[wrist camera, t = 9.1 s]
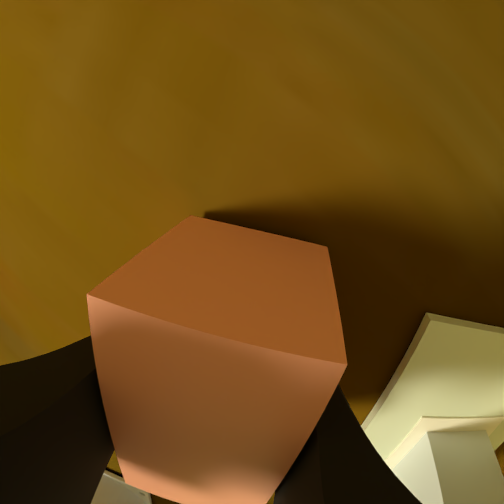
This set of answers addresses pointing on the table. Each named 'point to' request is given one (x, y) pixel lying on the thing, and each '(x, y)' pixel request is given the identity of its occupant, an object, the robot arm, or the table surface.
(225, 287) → the coral brick
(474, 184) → the table surface
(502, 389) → the baseplate
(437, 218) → the table surface
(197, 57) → the table surface
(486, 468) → the beige brick
